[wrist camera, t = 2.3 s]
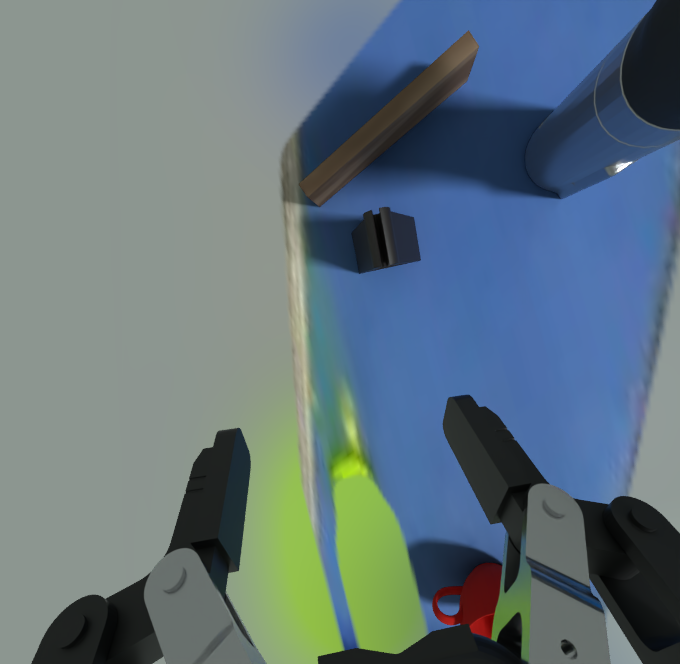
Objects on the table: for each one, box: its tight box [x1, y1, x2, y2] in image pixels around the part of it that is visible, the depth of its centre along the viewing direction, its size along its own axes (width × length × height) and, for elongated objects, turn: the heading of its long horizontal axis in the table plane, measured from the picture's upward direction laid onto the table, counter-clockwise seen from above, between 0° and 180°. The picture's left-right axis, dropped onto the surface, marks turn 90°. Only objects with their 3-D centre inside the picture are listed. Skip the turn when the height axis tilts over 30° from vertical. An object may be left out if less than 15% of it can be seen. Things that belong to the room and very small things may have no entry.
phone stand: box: [352, 207, 421, 274], centre depth 38 cm, size 9×6×12 cm, turn 101°
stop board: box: [299, 31, 479, 207], centre depth 38 cm, size 2×24×6 cm, turn 126°
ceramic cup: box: [432, 563, 502, 639], centre depth 46 cm, size 13×17×10 cm
